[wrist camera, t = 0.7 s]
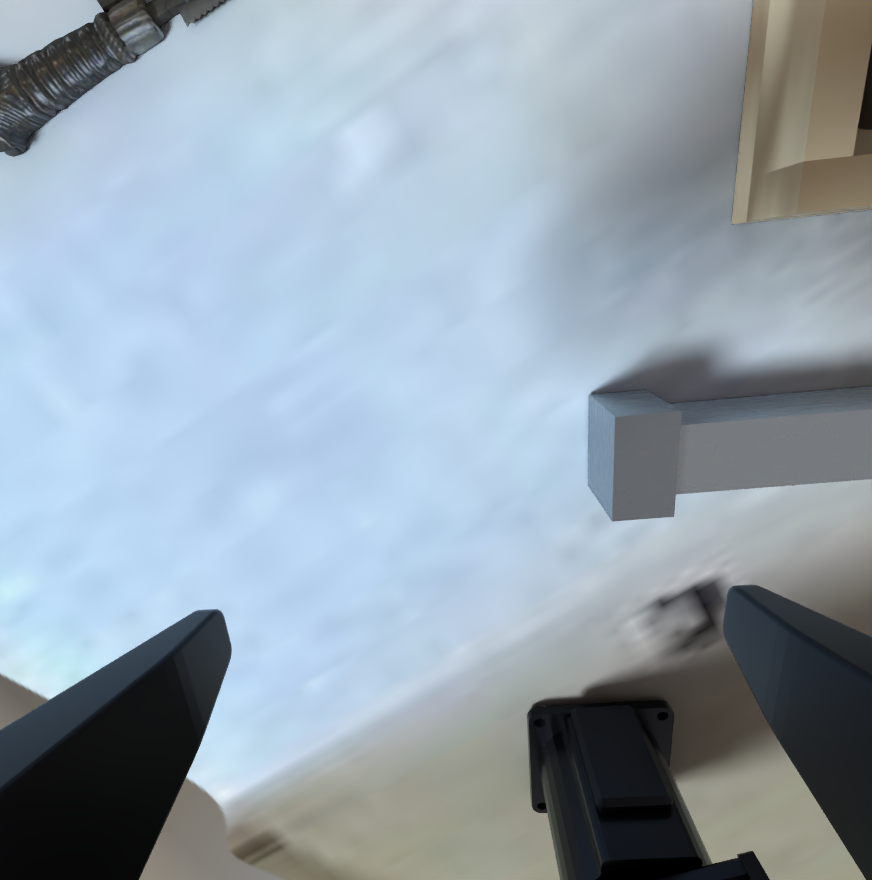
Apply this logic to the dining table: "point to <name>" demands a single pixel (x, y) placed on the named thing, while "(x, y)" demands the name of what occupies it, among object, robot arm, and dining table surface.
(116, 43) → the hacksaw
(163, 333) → the dining table surface
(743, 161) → the rack
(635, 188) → the dining table surface
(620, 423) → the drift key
